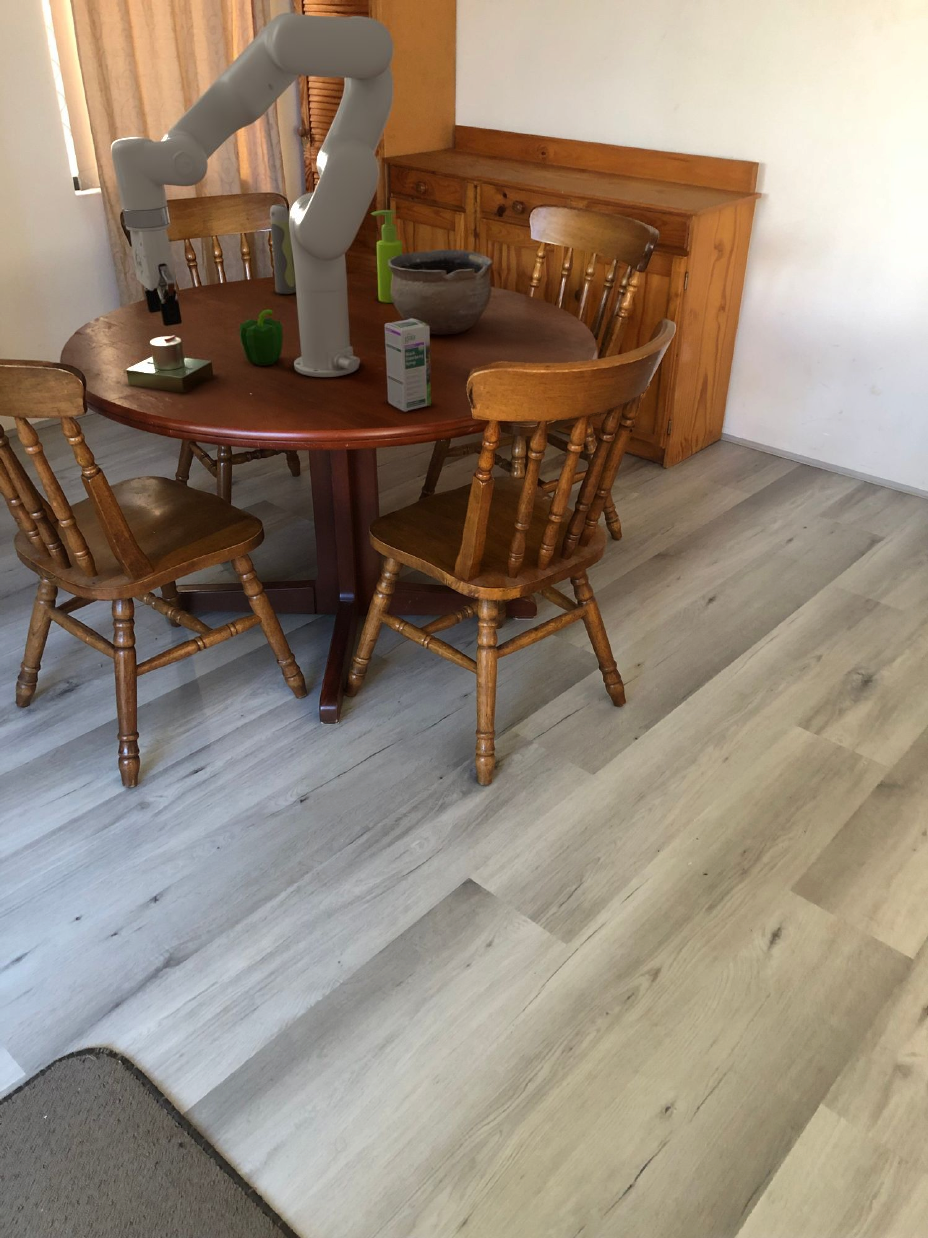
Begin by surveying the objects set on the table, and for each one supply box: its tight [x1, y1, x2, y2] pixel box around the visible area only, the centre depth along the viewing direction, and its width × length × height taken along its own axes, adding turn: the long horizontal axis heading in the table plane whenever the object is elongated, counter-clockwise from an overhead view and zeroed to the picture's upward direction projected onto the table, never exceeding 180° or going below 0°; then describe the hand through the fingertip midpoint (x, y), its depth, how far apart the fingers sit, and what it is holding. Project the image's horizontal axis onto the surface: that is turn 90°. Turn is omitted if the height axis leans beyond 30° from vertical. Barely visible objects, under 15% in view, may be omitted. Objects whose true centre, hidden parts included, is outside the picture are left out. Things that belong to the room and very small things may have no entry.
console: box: [125, 356, 214, 394], centre depth 182 cm, size 12×10×3 cm
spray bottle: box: [269, 203, 296, 295], centre depth 231 cm, size 5×5×20 cm
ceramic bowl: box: [388, 249, 494, 336], centre depth 208 cm, size 22×22×15 cm
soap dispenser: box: [370, 209, 403, 304], centre depth 227 cm, size 6×7×20 cm
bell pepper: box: [238, 309, 284, 366], centre depth 190 cm, size 8×8×10 cm
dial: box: [149, 334, 185, 370], centre depth 180 cm, size 6×6×5 cm
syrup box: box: [384, 318, 432, 412], centre depth 170 cm, size 6×6×14 cm
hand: (165, 317), depth 176 cm, fingers open, 9 cm apart
